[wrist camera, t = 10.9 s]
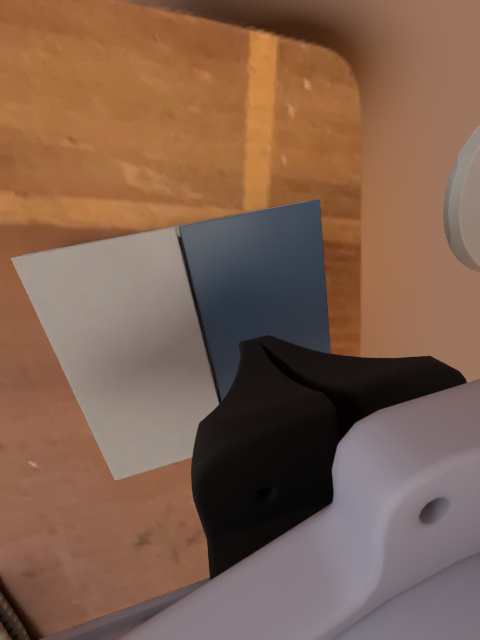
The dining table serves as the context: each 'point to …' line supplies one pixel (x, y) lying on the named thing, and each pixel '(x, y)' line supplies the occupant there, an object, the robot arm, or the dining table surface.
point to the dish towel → (10, 623)
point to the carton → (128, 342)
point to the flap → (259, 281)
